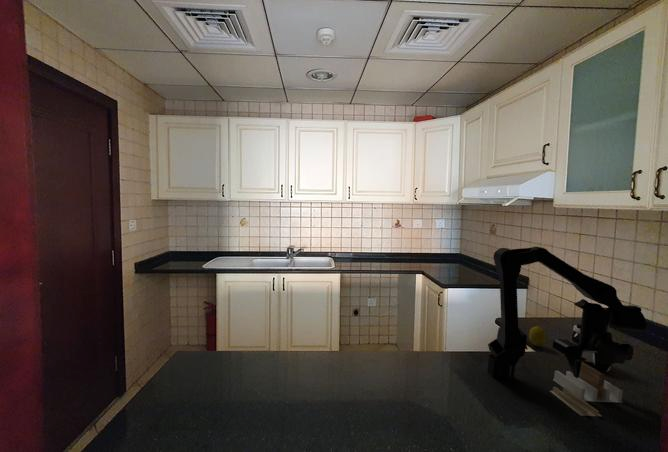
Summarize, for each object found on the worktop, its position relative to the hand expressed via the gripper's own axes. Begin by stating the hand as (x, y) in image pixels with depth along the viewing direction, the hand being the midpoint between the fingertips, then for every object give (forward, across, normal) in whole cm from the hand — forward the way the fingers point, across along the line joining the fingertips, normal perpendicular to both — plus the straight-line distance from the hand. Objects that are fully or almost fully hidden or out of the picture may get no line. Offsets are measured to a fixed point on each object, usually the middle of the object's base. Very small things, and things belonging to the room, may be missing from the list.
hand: (587, 377), depth 85 cm
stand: (+4, -9, -6) cm, 12 cm away
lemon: (+5, +8, +30) cm, 31 cm away
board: (+4, 0, 0) cm, 4 cm away
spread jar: (+5, +18, +18) cm, 26 cm away
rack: (+4, 0, 0) cm, 4 cm away
